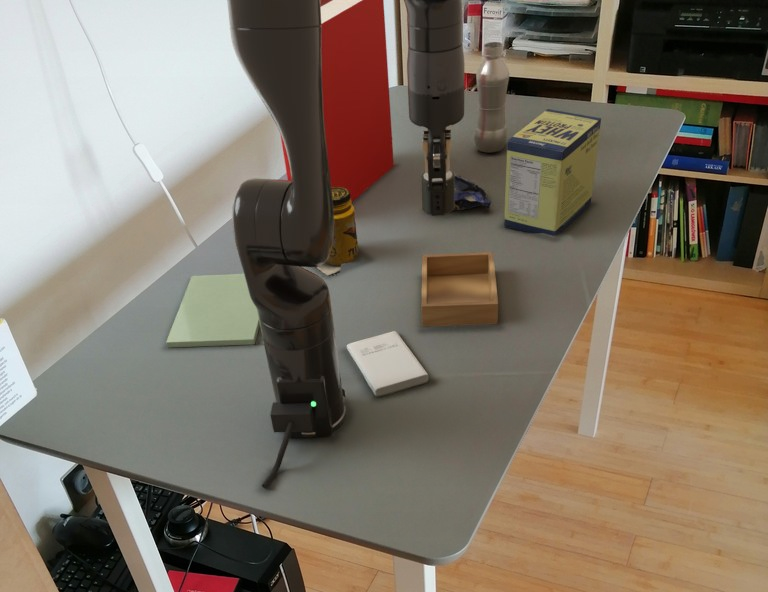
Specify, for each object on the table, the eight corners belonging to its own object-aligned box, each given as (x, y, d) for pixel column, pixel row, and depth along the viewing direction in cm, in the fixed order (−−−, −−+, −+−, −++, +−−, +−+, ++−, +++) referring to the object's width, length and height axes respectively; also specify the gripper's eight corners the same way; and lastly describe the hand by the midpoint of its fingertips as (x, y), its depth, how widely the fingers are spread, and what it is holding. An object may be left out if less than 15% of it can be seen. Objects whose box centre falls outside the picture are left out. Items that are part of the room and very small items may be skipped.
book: (360, 160, 172) (344, -15, 149) (393, 166, 169) (382, -12, 146) (289, 218, 156) (258, 32, 133) (324, 225, 153) (299, 36, 130)
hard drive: (375, 398, 116) (347, 352, 124) (428, 382, 118) (397, 338, 126) (374, 389, 115) (346, 343, 123) (428, 373, 117) (396, 329, 125)
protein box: (592, 203, 152) (602, 116, 141) (555, 240, 143) (563, 151, 132) (541, 192, 156) (547, 107, 145) (502, 227, 148) (505, 140, 137)
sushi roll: (454, 214, 118) (454, 180, 115) (421, 216, 119) (420, 182, 115) (454, 200, 122) (454, 166, 118) (422, 201, 122) (421, 167, 119)
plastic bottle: (468, 148, 173) (469, 44, 158) (496, 141, 174) (499, 37, 160) (484, 159, 168) (486, 53, 154) (512, 151, 170) (517, 45, 156)
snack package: (436, 191, 160) (419, 217, 152) (441, 158, 155) (423, 184, 148) (495, 206, 158) (480, 233, 151) (502, 174, 154) (487, 200, 146)
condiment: (368, 260, 143) (362, 193, 135) (327, 276, 140) (318, 209, 132) (346, 244, 148) (339, 179, 139) (306, 260, 145) (296, 194, 136)
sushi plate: (254, 344, 128) (253, 339, 127) (167, 347, 129) (165, 342, 128) (272, 277, 141) (271, 272, 141) (193, 280, 142) (191, 275, 142)
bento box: (497, 327, 126) (498, 303, 123) (422, 330, 127) (421, 306, 124) (492, 275, 137) (492, 251, 134) (423, 278, 138) (422, 254, 135)
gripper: (409, 65, 113) (414, 185, 125) (405, 102, 103) (411, 230, 115) (463, 62, 113) (463, 183, 125) (465, 99, 103) (464, 228, 115)
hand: (438, 205), depth 120 cm, fingers closed on sushi roll, 4 cm apart
